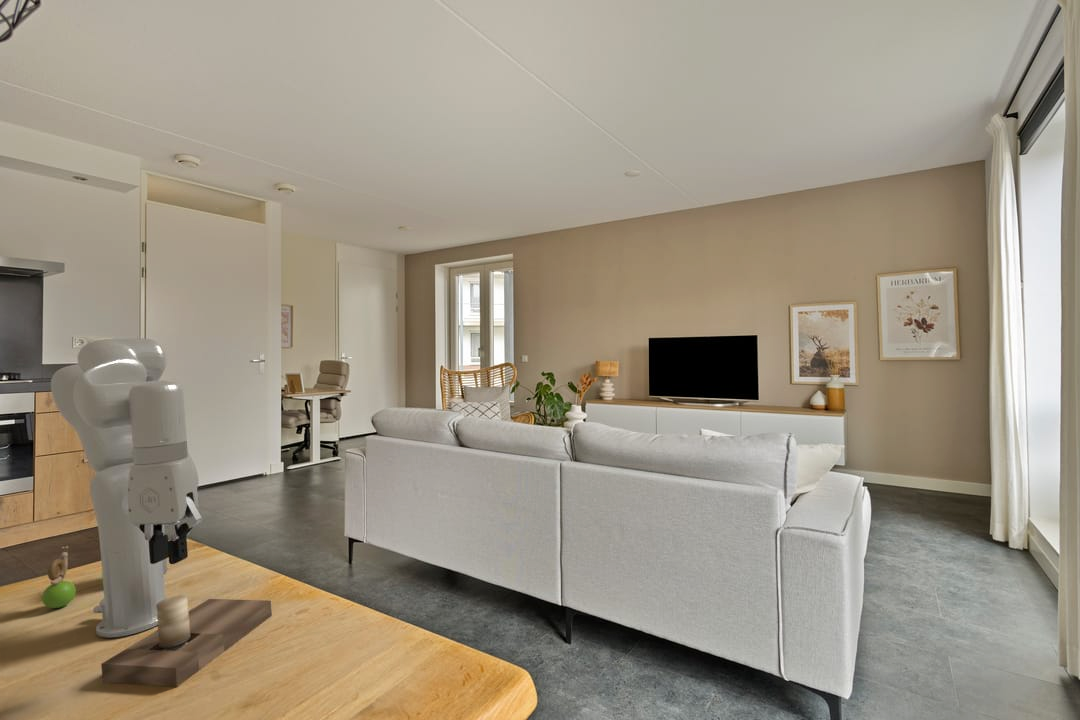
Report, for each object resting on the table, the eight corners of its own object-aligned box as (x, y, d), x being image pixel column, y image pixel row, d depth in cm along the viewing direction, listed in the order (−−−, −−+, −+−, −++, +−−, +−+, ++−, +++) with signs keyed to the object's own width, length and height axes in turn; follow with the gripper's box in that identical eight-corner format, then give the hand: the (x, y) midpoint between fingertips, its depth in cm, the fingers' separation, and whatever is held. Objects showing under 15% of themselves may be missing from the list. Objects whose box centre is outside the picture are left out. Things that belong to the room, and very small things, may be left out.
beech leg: (153, 665, 89) (149, 607, 89) (176, 650, 94) (172, 594, 93) (176, 667, 88) (171, 608, 88) (198, 651, 93) (194, 595, 93)
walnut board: (102, 682, 85) (101, 663, 85) (210, 613, 107) (209, 598, 107) (177, 686, 83) (175, 668, 83) (271, 615, 105) (270, 600, 104)
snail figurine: (84, 597, 119) (80, 544, 118) (68, 609, 112) (64, 554, 112) (54, 601, 117) (50, 548, 117) (37, 615, 111) (32, 558, 111)
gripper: (99, 460, 88) (108, 569, 88) (184, 458, 85) (192, 571, 85) (140, 451, 95) (148, 552, 96) (220, 449, 92) (227, 552, 93)
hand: (169, 559), depth 91 cm, fingers open, 3 cm apart
